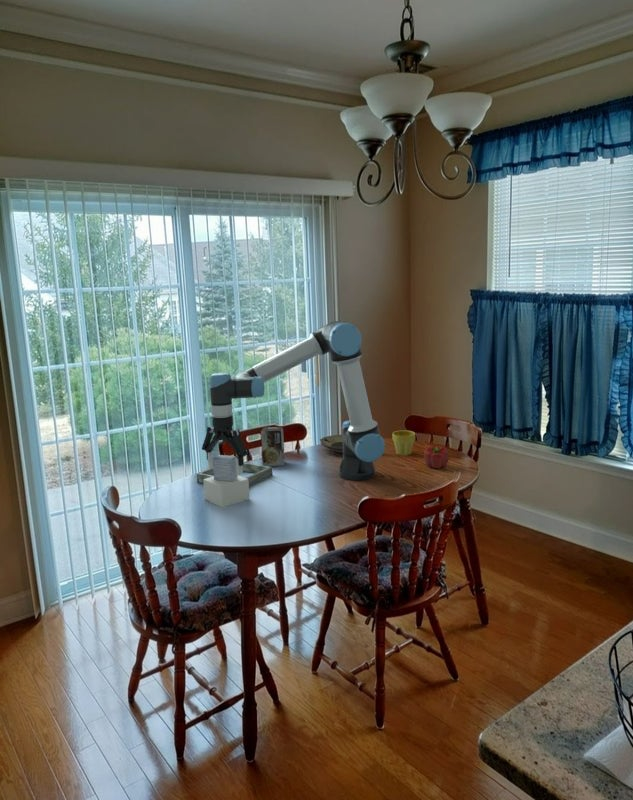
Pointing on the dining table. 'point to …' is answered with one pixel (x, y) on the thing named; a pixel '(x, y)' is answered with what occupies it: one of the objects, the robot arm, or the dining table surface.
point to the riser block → (226, 491)
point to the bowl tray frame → (259, 470)
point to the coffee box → (273, 446)
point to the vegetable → (436, 456)
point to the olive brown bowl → (333, 443)
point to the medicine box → (224, 468)
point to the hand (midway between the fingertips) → (225, 471)
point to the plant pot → (403, 441)
